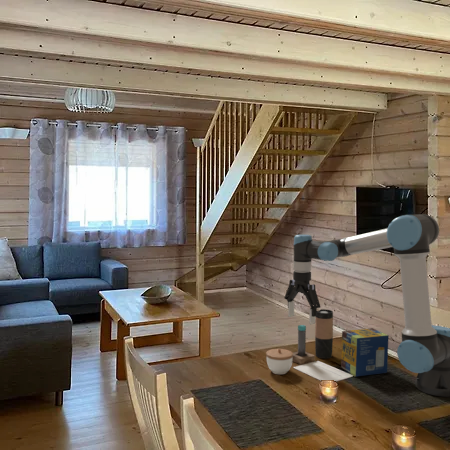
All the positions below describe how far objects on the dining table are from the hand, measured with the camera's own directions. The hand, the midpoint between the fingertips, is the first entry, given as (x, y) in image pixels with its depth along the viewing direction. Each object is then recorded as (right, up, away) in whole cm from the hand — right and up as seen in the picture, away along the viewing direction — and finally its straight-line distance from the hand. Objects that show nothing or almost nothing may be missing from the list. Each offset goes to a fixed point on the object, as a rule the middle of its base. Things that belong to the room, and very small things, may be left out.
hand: (301, 320), depth 210 cm
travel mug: (+11, -17, +7) cm, 22 cm away
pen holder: (0, -18, +1) cm, 18 cm away
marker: (0, -18, +1) cm, 18 cm away
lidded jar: (-11, -19, -12) cm, 25 cm away
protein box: (+24, -18, -11) cm, 32 cm away
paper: (+7, -19, -13) cm, 23 cm away
